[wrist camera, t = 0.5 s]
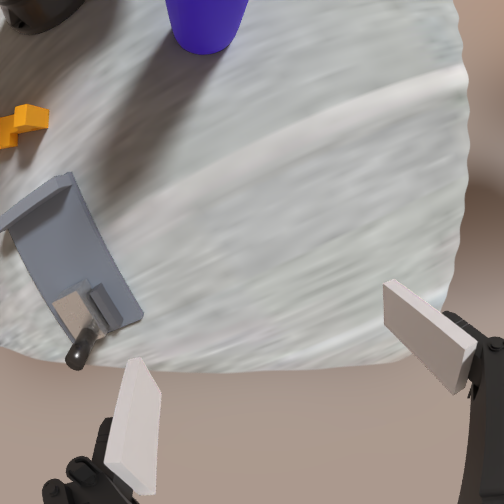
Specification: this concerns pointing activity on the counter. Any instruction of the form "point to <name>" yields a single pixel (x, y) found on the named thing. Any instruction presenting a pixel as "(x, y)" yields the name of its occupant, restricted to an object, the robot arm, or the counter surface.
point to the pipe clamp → (22, 123)
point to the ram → (80, 321)
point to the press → (68, 250)
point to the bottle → (205, 23)
